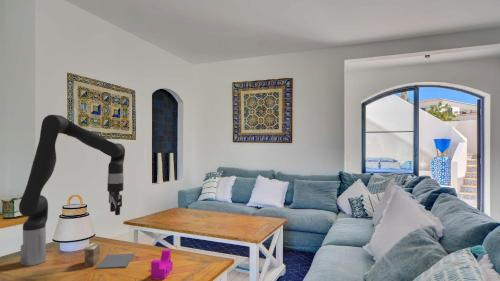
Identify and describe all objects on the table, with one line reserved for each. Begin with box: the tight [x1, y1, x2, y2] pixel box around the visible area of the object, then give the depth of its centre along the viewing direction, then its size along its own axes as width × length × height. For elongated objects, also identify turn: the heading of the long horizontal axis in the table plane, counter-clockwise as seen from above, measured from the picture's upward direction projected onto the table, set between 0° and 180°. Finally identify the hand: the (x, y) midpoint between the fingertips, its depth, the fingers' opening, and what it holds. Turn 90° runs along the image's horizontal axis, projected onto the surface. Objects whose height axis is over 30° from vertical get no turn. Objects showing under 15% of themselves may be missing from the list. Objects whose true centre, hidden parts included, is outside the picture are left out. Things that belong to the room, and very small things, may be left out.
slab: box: [84, 242, 101, 268], centre depth 147 cm, size 4×8×9 cm, turn 7°
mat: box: [94, 253, 135, 270], centre depth 149 cm, size 14×16×1 cm
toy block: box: [150, 249, 173, 280], centre depth 138 cm, size 15×6×8 cm, turn 176°
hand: (114, 213), depth 151 cm, fingers open, 8 cm apart
